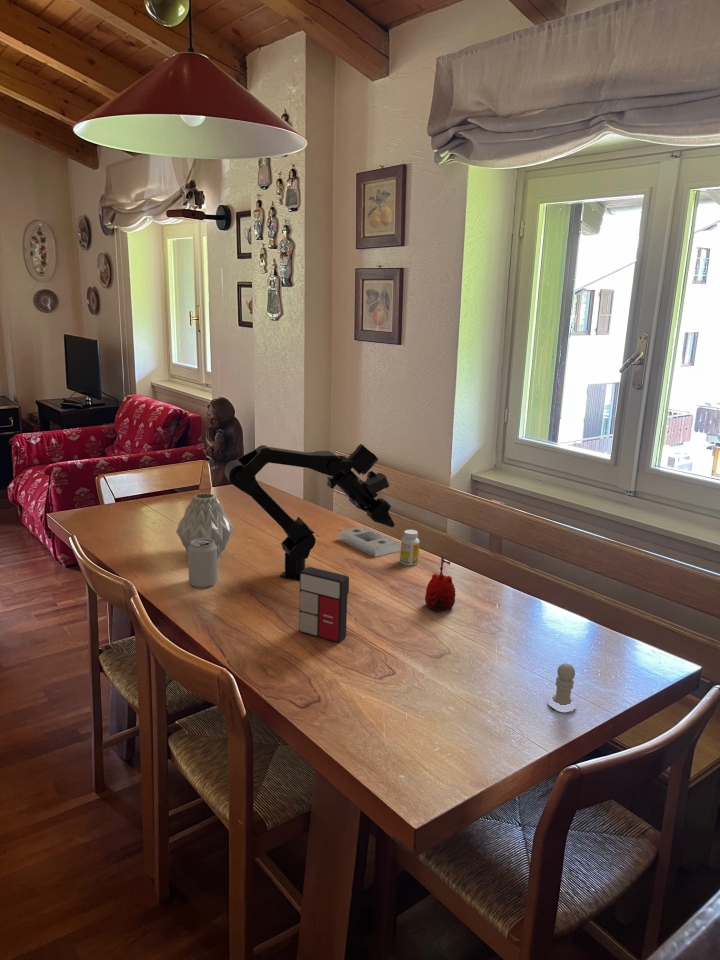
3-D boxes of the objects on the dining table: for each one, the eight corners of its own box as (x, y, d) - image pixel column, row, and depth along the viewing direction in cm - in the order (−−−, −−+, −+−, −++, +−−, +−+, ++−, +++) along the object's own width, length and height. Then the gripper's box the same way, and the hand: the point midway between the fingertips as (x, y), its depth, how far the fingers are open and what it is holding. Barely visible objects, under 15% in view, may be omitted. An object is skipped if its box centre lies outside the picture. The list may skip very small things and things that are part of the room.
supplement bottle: (401, 566, 206) (403, 534, 204) (398, 559, 212) (400, 528, 209) (419, 565, 207) (421, 534, 204) (416, 559, 212) (418, 528, 210)
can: (201, 591, 184) (200, 548, 181) (183, 584, 189) (181, 541, 186) (223, 583, 190) (222, 541, 187) (204, 576, 194) (203, 534, 191)
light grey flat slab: (399, 551, 218) (399, 541, 217) (375, 557, 212) (375, 547, 212) (362, 534, 232) (362, 525, 231) (339, 540, 226) (339, 530, 225)
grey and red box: (297, 632, 164) (297, 572, 160) (306, 625, 168) (307, 566, 164) (338, 644, 159) (340, 582, 155) (347, 636, 163) (349, 576, 159)
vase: (239, 548, 216) (239, 489, 211) (224, 568, 200) (223, 505, 196) (187, 544, 217) (186, 486, 213) (168, 564, 202) (166, 501, 197)
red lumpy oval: (456, 604, 182) (460, 549, 178) (452, 615, 176) (456, 558, 172) (426, 599, 184) (430, 545, 180) (421, 611, 178) (425, 554, 174)
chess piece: (570, 698, 141) (575, 658, 139) (579, 714, 136) (584, 672, 133) (544, 698, 141) (548, 657, 138) (551, 714, 135) (556, 671, 133)
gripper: (385, 473, 189) (420, 510, 196) (360, 457, 206) (393, 492, 212) (356, 503, 188) (392, 539, 195) (334, 485, 205) (367, 519, 212)
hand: (387, 521), depth 203 cm, fingers open, 9 cm apart
